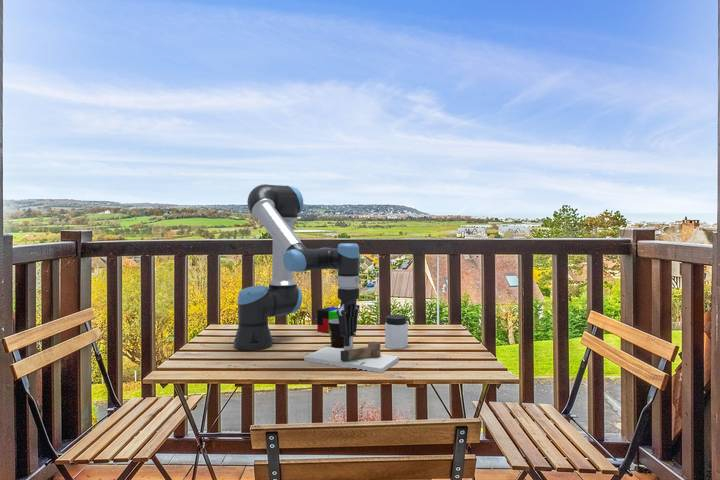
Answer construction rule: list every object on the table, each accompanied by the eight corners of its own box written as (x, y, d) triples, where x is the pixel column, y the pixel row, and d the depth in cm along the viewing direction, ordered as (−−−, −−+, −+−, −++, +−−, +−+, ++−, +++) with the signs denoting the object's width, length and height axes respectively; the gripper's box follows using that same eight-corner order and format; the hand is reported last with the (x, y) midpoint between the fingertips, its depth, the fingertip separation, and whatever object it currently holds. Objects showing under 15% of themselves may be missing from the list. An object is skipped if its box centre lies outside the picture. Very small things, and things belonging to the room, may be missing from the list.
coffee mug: (347, 349, 176) (347, 324, 176) (326, 348, 178) (326, 323, 177) (353, 342, 187) (353, 318, 187) (333, 341, 189) (333, 317, 189)
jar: (406, 343, 184) (406, 314, 184) (408, 349, 176) (408, 318, 176) (384, 343, 184) (384, 314, 184) (385, 349, 176) (385, 318, 176)
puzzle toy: (331, 327, 214) (331, 306, 214) (348, 330, 208) (348, 309, 208) (317, 331, 206) (317, 310, 206) (334, 334, 200) (334, 312, 200)
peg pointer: (345, 362, 153) (345, 349, 153) (339, 359, 157) (339, 346, 157) (382, 356, 161) (382, 343, 160) (376, 353, 164) (376, 341, 164)
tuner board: (304, 361, 161) (304, 356, 161) (326, 350, 174) (326, 346, 174) (381, 373, 148) (381, 368, 148) (398, 360, 161) (398, 356, 161)
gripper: (349, 290, 151) (349, 361, 152) (366, 286, 162) (366, 351, 163) (329, 289, 154) (329, 358, 155) (347, 284, 166) (347, 348, 167)
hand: (348, 354), depth 159 cm, fingers closed
